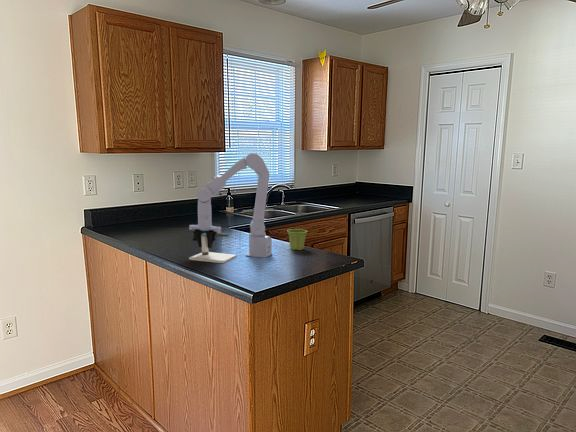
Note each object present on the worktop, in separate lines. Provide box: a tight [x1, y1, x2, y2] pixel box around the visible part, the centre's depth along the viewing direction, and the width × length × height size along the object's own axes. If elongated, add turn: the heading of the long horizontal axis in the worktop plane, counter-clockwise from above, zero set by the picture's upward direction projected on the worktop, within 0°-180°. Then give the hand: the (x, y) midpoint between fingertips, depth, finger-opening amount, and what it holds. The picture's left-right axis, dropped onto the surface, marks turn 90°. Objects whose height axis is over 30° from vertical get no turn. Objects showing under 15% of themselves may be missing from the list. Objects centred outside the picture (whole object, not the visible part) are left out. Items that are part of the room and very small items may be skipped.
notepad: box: [188, 251, 238, 264], centre depth 180 cm, size 16×12×1 cm
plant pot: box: [286, 228, 308, 251], centre depth 198 cm, size 9×9×9 cm
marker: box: [201, 234, 210, 255], centre depth 183 cm, size 3×3×9 cm
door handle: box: [192, 229, 230, 241], centre depth 225 cm, size 3×20×16 cm
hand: (205, 247), depth 183 cm, fingers open, 4 cm apart
